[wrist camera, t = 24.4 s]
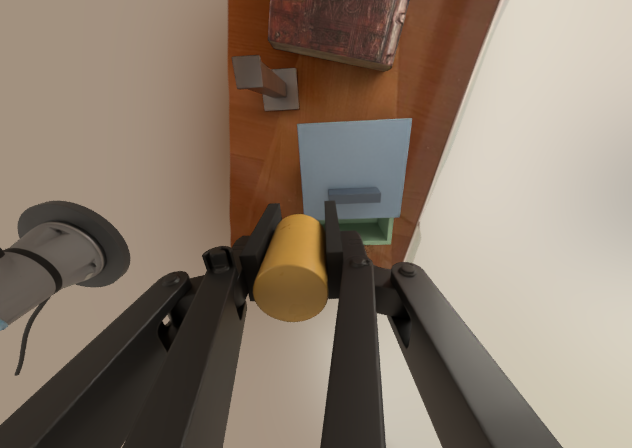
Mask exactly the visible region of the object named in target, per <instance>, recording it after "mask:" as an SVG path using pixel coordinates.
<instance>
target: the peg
mask: <svg viewBox="0 0 632 448" xmlns="http://www.w3.org/2000/svg"><path fill="white" fill-rule="evenodd" d="M253 296H254V300H255V302H256V304H257V305H258V306H259V308H260V309H261V310H262V311H263V312H264V313H266V314H267V315H269V316H270V317H273V318H275V319H278V320H282V321H286V322H300V321H305V320H308V319H310V318H312V317H314V316H316V315H317V314H319V313H320V312H321V311H322V310H323V308H324V307H325V305H326V303H327V300H328V275H327V261H326V235H325V230H324V228H323V226H322V225H321V224H320V223H319V222H318V221H317V220H316V219H314V218H313V217H310V216H308V215H303V214H295V215H291V216H288V217H286V218H284V219H283V220H281V221H280V222H279V224H278V225H277V227H276V229H275V231H274V234H273V236H272V239H271V241H270V244H269V247H268V249H267V252H266V254H265V257H264V259H263V262H262V264H261V267H260V269H259V272H258V274H257V277H256V279H255V282H254V285H253Z"/></svg>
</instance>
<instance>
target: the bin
mask: <svg viewBox="0 0 632 448" xmlns="http://www.w3.org/2000/svg"><path fill="white" fill-rule="evenodd" d="M393 220H394V217H393V218H363V219H338V222H339V228H340V231H353V230H356V231H357V232H358V233H359V234H360V235H361V238H362V241H363V245H384V244H391V238H392V229H393ZM317 221H318V222H319V223H320V224H321V225H322V226H323V228H324V230H325V220H317Z"/></svg>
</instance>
